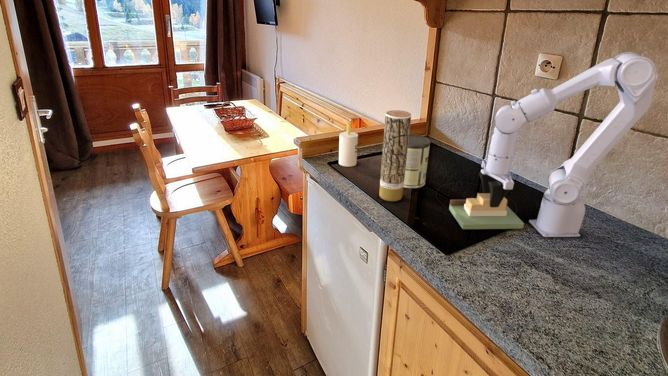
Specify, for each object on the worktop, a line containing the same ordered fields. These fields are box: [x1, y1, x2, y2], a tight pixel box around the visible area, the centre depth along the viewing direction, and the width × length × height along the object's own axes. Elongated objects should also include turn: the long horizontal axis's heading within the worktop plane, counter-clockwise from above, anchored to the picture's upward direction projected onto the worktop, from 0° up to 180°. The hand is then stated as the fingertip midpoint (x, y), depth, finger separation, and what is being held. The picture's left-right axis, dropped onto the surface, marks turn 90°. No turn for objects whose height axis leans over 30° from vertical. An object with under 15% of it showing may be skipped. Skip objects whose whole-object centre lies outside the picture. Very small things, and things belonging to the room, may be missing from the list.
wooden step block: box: [464, 192, 508, 216], centre depth 107 cm, size 10×4×5 cm, turn 94°
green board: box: [448, 198, 525, 230], centre depth 108 cm, size 16×11×3 cm
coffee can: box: [403, 134, 432, 189], centre depth 126 cm, size 10×10×14 cm
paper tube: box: [378, 109, 412, 203], centre depth 113 cm, size 7×7×25 cm
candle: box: [338, 121, 359, 168], centre depth 139 cm, size 6×6×15 cm
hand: (490, 202), depth 107 cm, fingers closed on wooden step block, 4 cm apart
